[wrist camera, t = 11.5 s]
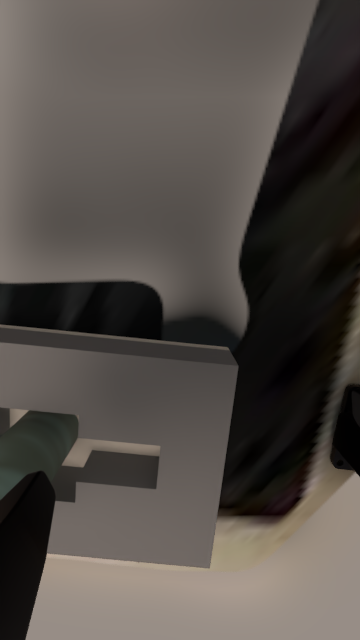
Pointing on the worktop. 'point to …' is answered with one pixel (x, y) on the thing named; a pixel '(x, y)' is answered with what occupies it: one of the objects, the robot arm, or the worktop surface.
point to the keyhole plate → (127, 439)
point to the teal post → (35, 446)
